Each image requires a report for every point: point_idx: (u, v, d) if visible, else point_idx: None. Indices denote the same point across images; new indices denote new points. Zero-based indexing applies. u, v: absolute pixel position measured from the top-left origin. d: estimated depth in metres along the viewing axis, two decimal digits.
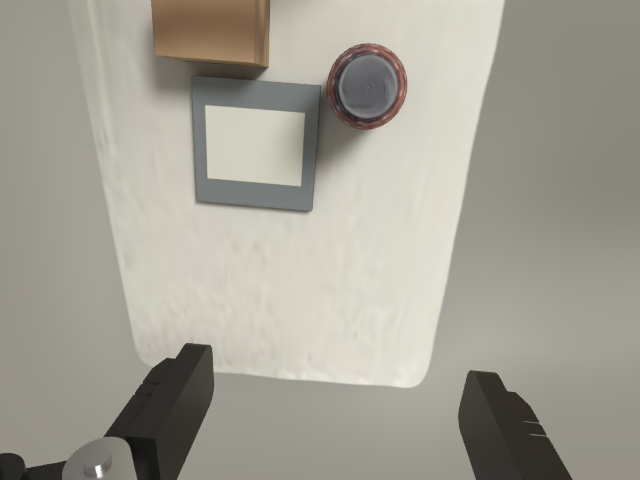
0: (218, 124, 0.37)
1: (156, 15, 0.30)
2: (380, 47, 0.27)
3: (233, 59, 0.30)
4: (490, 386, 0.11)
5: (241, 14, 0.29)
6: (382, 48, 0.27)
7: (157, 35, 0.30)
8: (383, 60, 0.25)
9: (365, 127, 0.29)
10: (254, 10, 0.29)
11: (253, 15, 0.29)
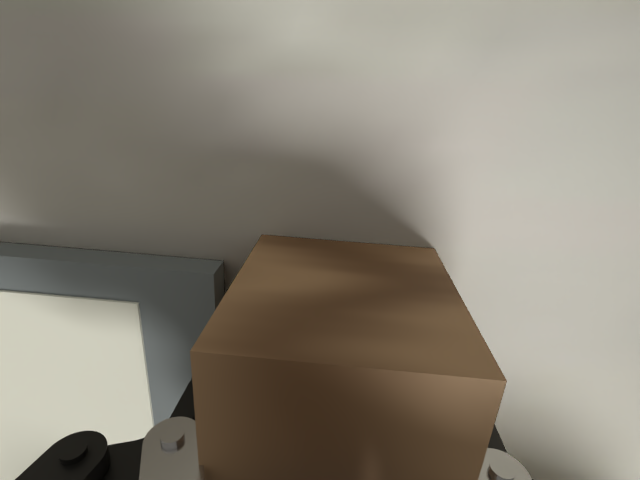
0: (92, 332, 0.13)
1: (347, 381, 0.07)
2: None
3: None
4: None
5: None
6: None
7: (269, 372, 0.07)
8: None
9: None
10: None
11: None
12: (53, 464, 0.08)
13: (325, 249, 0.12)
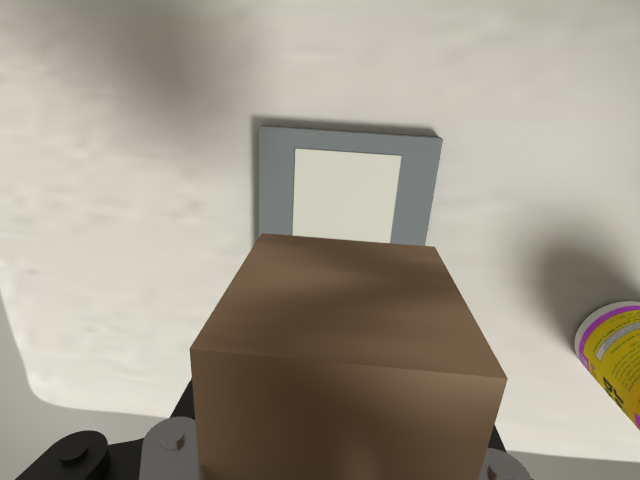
0: (373, 172, 0.26)
1: (347, 379, 0.07)
2: None
3: None
4: None
5: None
6: None
7: (269, 370, 0.07)
8: None
9: None
10: None
11: None
12: (53, 464, 0.08)
13: (325, 247, 0.12)
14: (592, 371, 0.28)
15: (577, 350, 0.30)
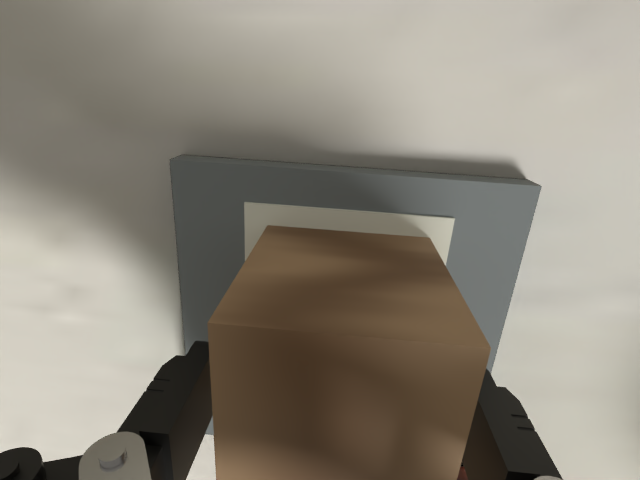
0: None
1: (348, 349, 0.08)
2: None
3: None
4: None
5: None
6: None
7: (278, 341, 0.08)
8: None
9: None
10: None
11: None
12: None
13: (327, 238, 0.12)
14: None
15: None
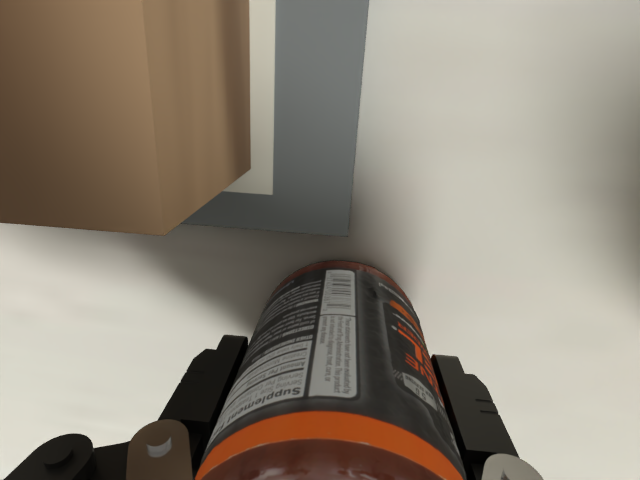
0: None
1: None
2: None
3: None
4: (449, 368, 0.11)
5: (21, 165, 0.06)
6: None
7: None
8: None
9: None
10: (59, 222, 0.07)
11: (33, 220, 0.06)
12: (37, 468, 0.08)
13: None
14: None
15: None
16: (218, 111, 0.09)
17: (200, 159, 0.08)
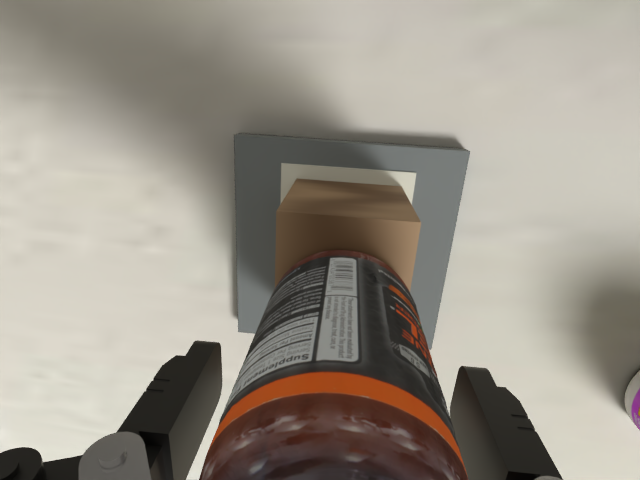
0: None
1: (348, 225, 0.15)
2: None
3: None
4: (480, 381, 0.11)
5: None
6: None
7: (313, 221, 0.15)
8: None
9: None
10: None
11: None
12: None
13: (335, 184, 0.19)
14: None
15: (629, 408, 0.24)
16: None
17: None
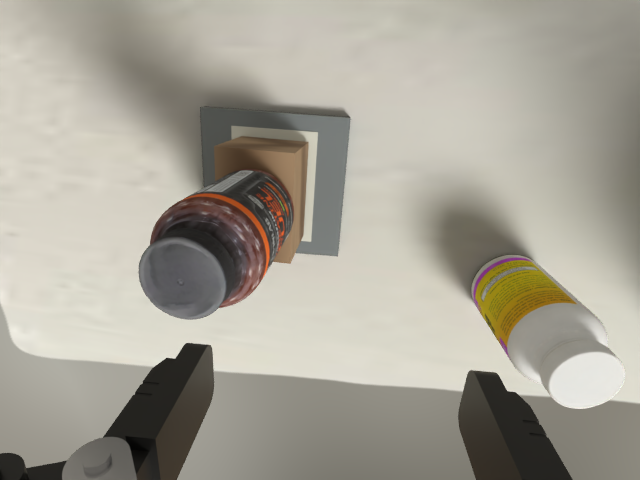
0: None
1: (255, 154, 0.26)
2: (257, 276, 0.19)
3: None
4: (490, 386, 0.11)
5: None
6: (256, 279, 0.19)
7: (234, 152, 0.26)
8: (219, 302, 0.17)
9: None
10: None
11: None
12: None
13: (264, 139, 0.30)
14: (480, 311, 0.34)
15: (472, 297, 0.36)
16: (298, 226, 0.30)
17: (295, 242, 0.30)
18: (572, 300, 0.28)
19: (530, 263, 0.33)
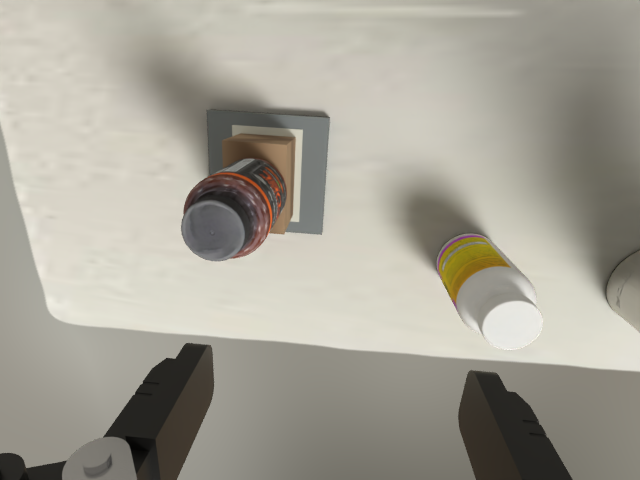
0: None
1: (254, 146, 0.33)
2: (264, 232, 0.26)
3: None
4: (490, 386, 0.11)
5: None
6: (263, 234, 0.26)
7: (238, 145, 0.33)
8: (240, 246, 0.24)
9: None
10: None
11: None
12: None
13: (259, 135, 0.37)
14: (442, 281, 0.40)
15: (437, 270, 0.42)
16: (289, 205, 0.37)
17: (287, 218, 0.37)
18: (508, 265, 0.34)
19: (483, 239, 0.39)
